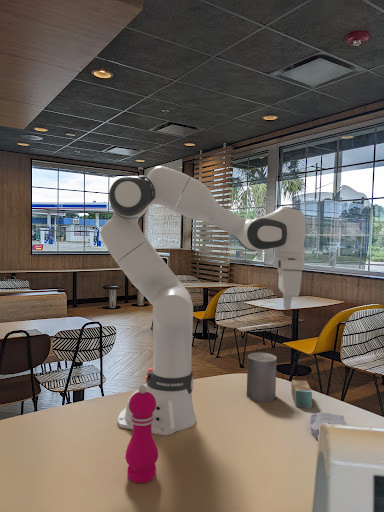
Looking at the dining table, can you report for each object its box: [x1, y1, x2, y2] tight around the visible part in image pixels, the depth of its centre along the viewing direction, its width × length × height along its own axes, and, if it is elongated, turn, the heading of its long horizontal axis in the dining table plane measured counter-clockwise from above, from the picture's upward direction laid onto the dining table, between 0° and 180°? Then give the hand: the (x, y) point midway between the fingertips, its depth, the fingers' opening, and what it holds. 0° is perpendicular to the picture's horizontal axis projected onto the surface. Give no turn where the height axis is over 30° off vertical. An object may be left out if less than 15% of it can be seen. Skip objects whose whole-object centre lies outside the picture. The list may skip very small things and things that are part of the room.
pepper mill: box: [125, 385, 159, 484], centre depth 86 cm, size 7×7×20 cm
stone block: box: [309, 411, 349, 441], centre depth 107 cm, size 12×5×10 cm
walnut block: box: [291, 379, 313, 408], centre depth 128 cm, size 5×5×10 cm
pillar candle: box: [246, 351, 277, 403], centre depth 131 cm, size 10×10×15 cm
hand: (286, 308), depth 115 cm, fingers closed
